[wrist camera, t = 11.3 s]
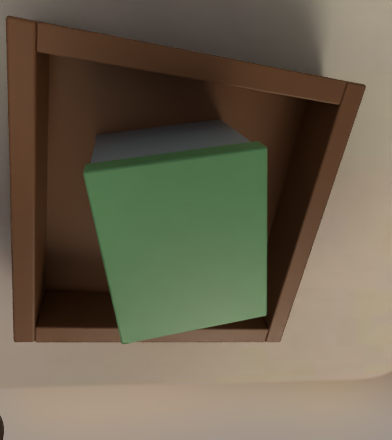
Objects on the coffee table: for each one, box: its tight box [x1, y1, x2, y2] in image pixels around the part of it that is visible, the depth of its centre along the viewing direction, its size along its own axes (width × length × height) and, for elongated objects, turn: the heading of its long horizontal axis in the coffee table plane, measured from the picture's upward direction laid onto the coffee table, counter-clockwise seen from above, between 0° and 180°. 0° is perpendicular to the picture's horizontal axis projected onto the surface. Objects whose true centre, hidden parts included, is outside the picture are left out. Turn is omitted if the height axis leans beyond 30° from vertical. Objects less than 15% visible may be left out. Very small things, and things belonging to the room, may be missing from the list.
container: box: [83, 119, 267, 344], centre depth 14 cm, size 6×5×5 cm
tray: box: [6, 16, 366, 342], centre depth 15 cm, size 12×12×3 cm
